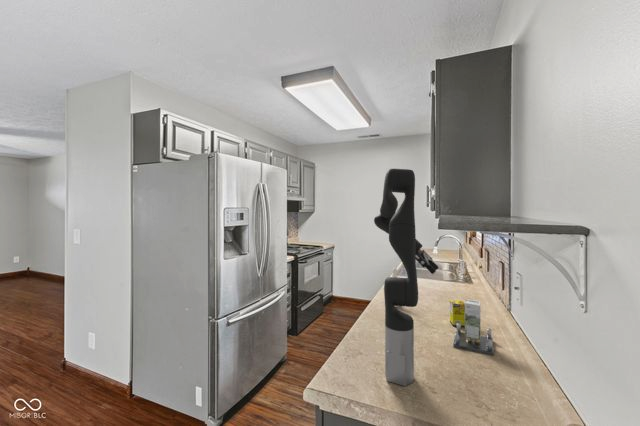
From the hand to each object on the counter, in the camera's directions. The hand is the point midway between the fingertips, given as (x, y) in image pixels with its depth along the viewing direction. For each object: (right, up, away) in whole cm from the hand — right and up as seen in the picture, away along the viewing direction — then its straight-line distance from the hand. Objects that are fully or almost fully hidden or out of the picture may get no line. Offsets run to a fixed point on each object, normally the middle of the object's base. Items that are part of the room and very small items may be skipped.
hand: (435, 270), depth 126 cm
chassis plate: (+12, -29, -9) cm, 32 cm away
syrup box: (+12, -26, -9) cm, 30 cm away
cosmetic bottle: (-8, -29, +39) cm, 49 cm away
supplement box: (+15, -29, +11) cm, 34 cm away
